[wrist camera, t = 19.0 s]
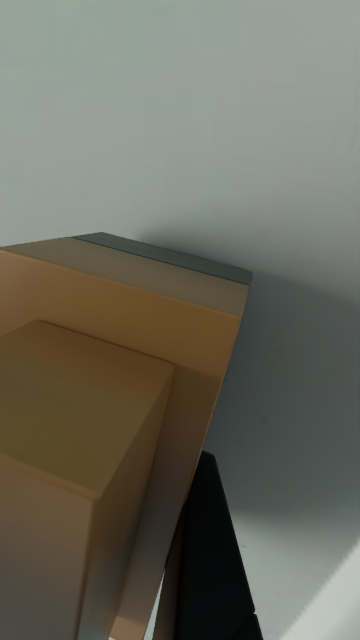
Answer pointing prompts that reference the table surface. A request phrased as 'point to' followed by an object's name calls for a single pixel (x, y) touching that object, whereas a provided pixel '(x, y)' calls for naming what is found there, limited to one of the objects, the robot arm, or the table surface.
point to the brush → (102, 424)
